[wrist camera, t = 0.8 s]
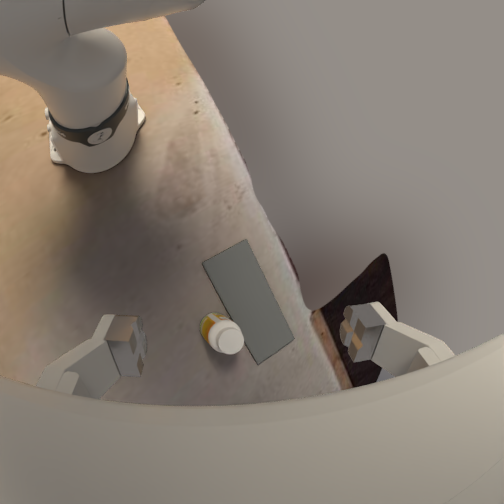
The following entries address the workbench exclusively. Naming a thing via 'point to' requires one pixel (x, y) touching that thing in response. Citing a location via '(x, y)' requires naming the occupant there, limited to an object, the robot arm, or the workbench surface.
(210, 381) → the workbench surface
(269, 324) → the mat
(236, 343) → the supplement bottle
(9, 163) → the workbench surface
